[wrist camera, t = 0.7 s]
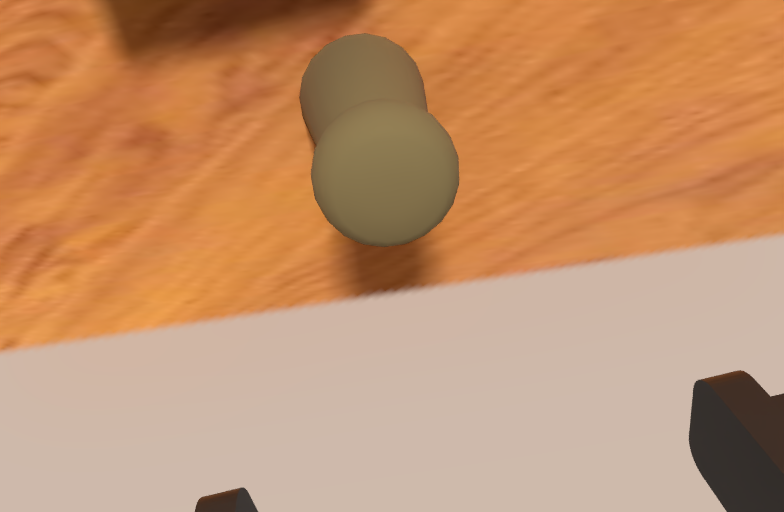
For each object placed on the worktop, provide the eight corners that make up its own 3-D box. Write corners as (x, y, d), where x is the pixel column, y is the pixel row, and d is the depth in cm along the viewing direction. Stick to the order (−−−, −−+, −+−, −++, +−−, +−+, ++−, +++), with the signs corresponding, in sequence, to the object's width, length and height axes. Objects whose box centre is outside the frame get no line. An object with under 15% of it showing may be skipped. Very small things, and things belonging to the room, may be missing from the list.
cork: (346, 179, 31) (366, 302, 22) (273, 82, 28) (259, 175, 19) (446, 114, 30) (512, 214, 21) (381, 5, 27) (423, 65, 18)
